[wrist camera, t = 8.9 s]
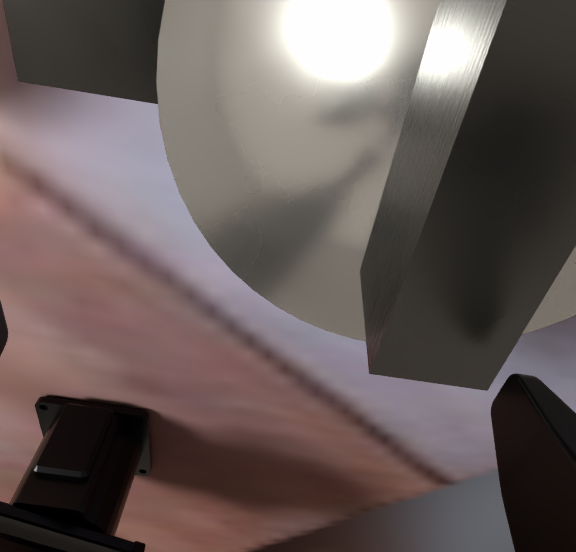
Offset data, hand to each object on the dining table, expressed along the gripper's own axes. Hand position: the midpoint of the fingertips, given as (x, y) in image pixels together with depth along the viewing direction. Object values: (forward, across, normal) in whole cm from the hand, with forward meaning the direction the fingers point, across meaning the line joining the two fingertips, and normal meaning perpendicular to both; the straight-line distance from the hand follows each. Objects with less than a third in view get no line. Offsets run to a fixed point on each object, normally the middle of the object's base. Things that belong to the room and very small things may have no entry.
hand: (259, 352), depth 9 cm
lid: (+6, -4, -3) cm, 7 cm away
